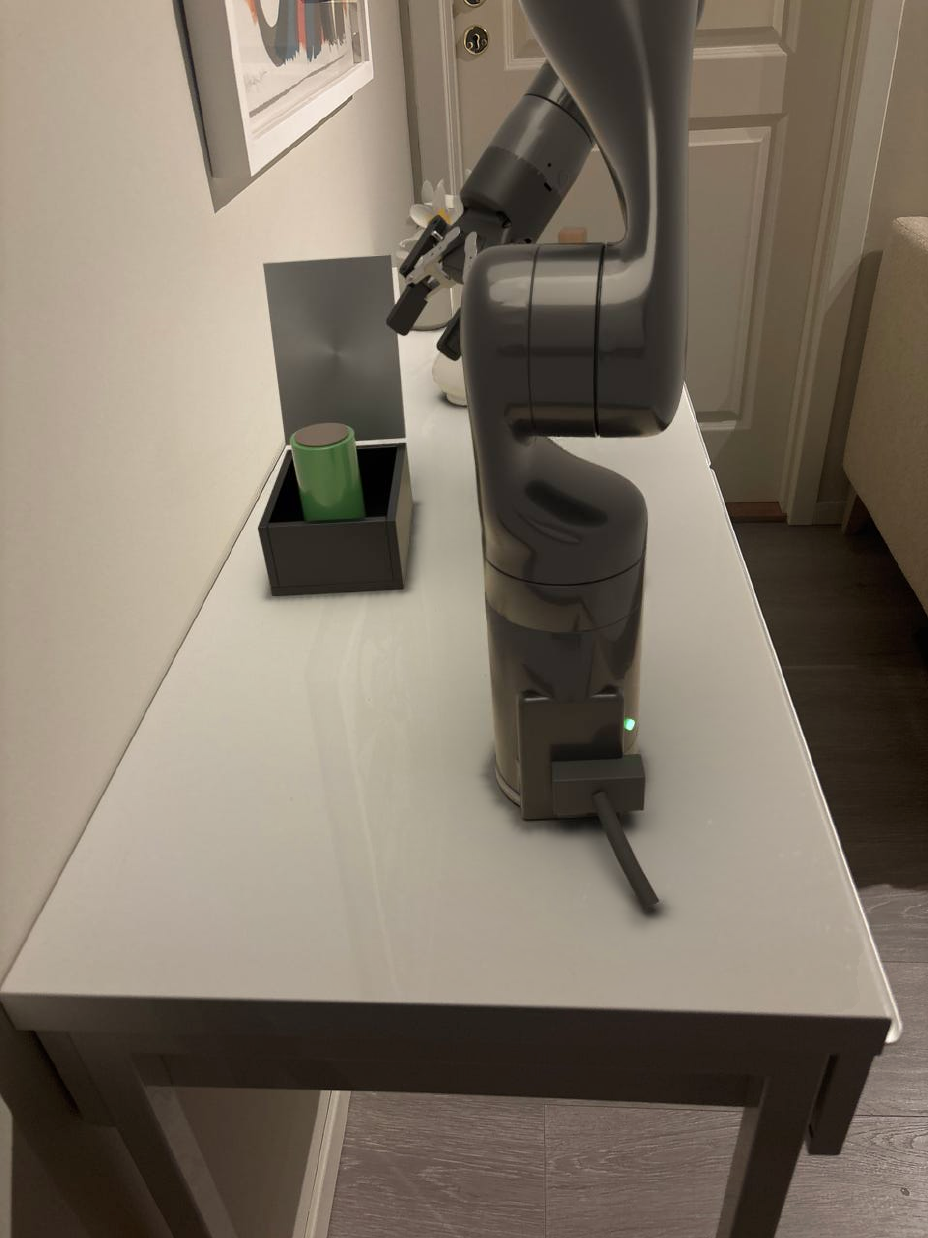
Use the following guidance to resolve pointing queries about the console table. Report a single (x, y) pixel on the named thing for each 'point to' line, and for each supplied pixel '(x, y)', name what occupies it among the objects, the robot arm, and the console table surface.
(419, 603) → the console table surface
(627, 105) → the robot arm
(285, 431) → the lid
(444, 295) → the can
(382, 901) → the console table surface
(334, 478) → the green cylinder
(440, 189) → the flower vase
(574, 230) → the wooden block
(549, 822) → the console table surface
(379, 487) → the dark grey open box
